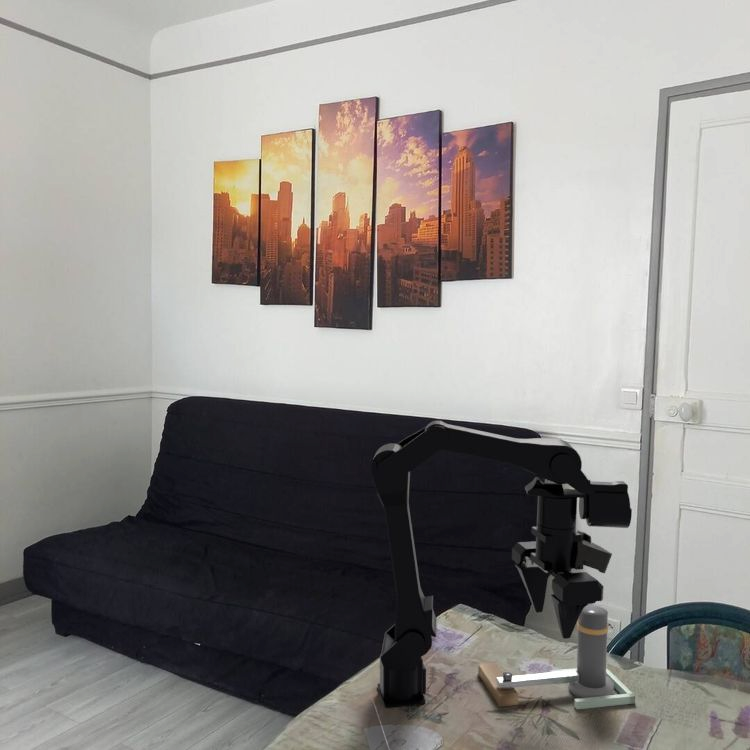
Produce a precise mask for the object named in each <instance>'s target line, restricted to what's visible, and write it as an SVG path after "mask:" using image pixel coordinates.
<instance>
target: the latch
mask: <svg viewBox="0 0 750 750" xmlns="http://www.w3.org/2000/svg"><path fill="white" fill-rule="evenodd" d="M577 681H579V675H578V674H577V672H576V671H575V670H571V671H561V672H550V671H549V672H542V673H541V672H540V673H532V674H531V673H529V674H522V675H521V674H520V675H519V674H518V675H513V673H511V672H510V671H505V672H503V677H497V678H496V684H497V685H498V687H499V688H500V689H506V688H514V689H515V688H525V687H534V686H536V687H537V686H544V685H545V686H546V685H554V684H555V685H556V684H564V683H565V684H566V683H569V682H577Z"/></svg>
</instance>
